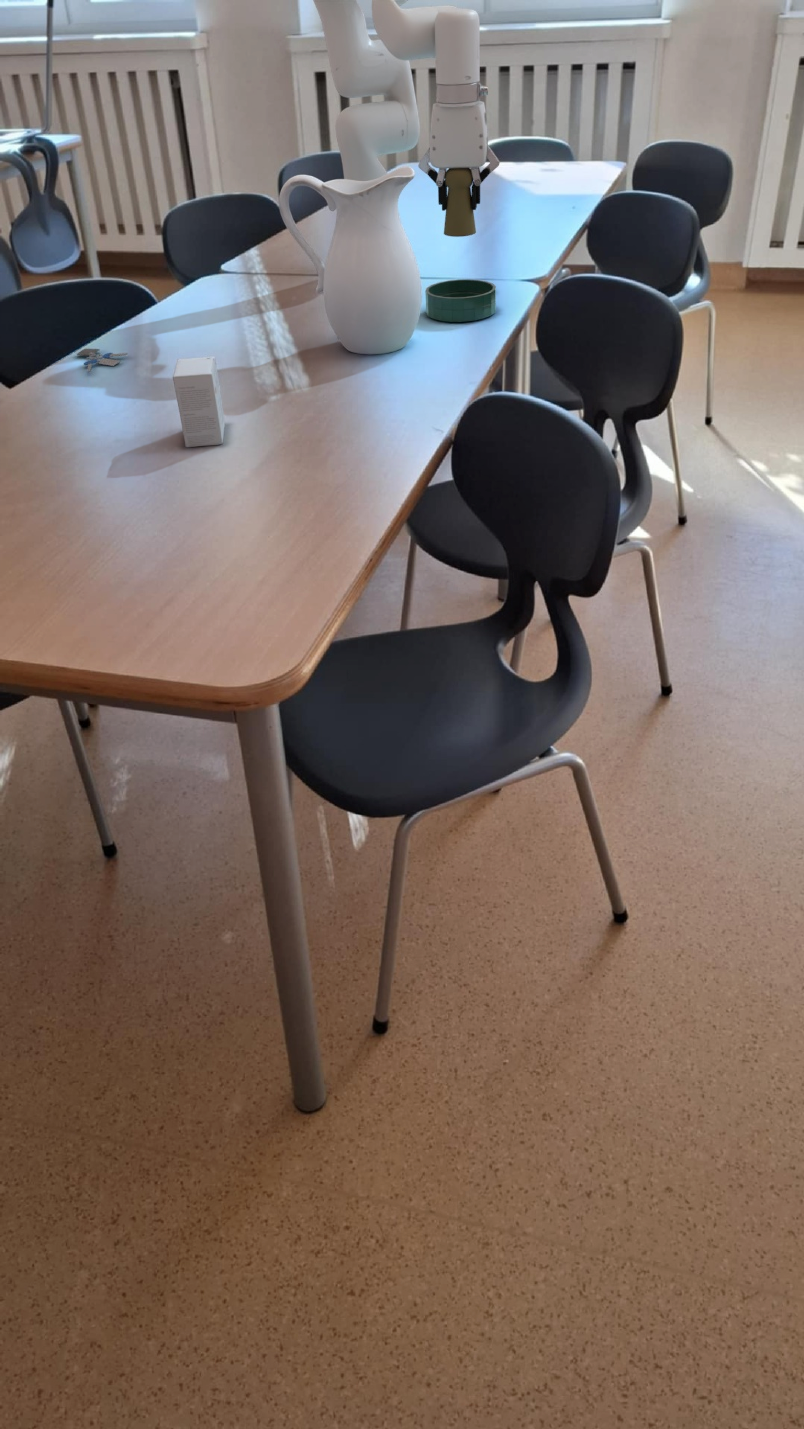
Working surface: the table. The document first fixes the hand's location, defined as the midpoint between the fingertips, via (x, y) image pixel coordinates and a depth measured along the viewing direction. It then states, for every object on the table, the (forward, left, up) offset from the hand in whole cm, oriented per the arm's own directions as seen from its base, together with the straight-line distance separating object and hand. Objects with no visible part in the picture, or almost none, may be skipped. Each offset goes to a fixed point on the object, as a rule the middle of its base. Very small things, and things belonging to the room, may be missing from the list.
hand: (459, 207), depth 195 cm
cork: (0, 0, -4) cm, 4 cm away
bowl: (0, -4, -18) cm, 18 cm away
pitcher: (-17, -22, -18) cm, 33 cm away
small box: (-33, -65, -18) cm, 75 cm away
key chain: (-62, -29, -18) cm, 70 cm away
